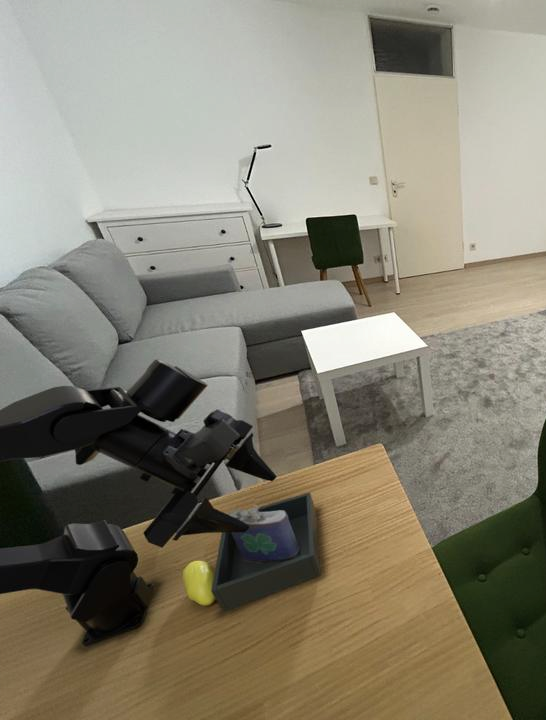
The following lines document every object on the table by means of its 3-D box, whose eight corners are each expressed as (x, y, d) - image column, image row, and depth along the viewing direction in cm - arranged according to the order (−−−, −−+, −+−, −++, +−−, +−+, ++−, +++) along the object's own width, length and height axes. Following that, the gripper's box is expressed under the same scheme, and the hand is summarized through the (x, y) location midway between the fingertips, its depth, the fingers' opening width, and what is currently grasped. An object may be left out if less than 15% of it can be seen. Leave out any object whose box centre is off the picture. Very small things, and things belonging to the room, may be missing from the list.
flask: (303, 546, 64) (285, 500, 59) (295, 563, 61) (276, 517, 56) (247, 546, 64) (225, 501, 59) (237, 563, 62) (213, 517, 56)
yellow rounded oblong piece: (185, 580, 60) (213, 563, 62) (198, 619, 55) (229, 599, 57) (174, 563, 58) (204, 546, 60) (187, 603, 53) (219, 582, 55)
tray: (223, 612, 56) (211, 591, 53) (233, 537, 66) (224, 517, 64) (320, 575, 60) (313, 555, 58) (316, 511, 71) (309, 491, 68)
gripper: (126, 465, 41) (263, 528, 47) (219, 374, 57) (312, 429, 63) (86, 520, 44) (218, 573, 50) (185, 419, 61) (276, 468, 66)
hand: (262, 502), depth 57 cm, fingers open, 9 cm apart
